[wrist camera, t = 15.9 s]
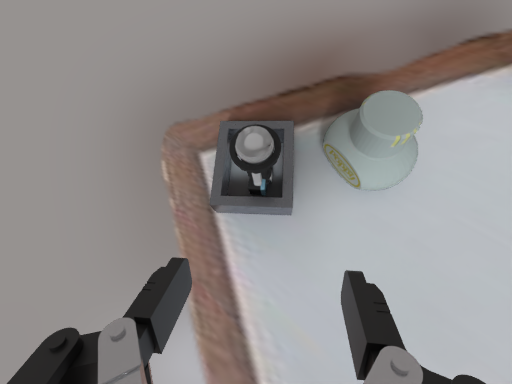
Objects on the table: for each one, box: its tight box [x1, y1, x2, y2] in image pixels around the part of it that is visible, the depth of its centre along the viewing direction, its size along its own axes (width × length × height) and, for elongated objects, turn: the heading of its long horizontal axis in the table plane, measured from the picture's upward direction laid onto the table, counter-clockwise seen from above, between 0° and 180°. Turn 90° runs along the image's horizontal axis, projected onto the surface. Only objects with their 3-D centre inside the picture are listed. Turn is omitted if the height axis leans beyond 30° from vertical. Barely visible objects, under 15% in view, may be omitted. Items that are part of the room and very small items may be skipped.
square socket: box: [210, 121, 294, 215], centre depth 33 cm, size 10×12×4 cm
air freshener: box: [323, 90, 423, 191], centre depth 29 cm, size 11×8×10 cm
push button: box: [229, 124, 281, 196], centre depth 29 cm, size 7×5×10 cm
